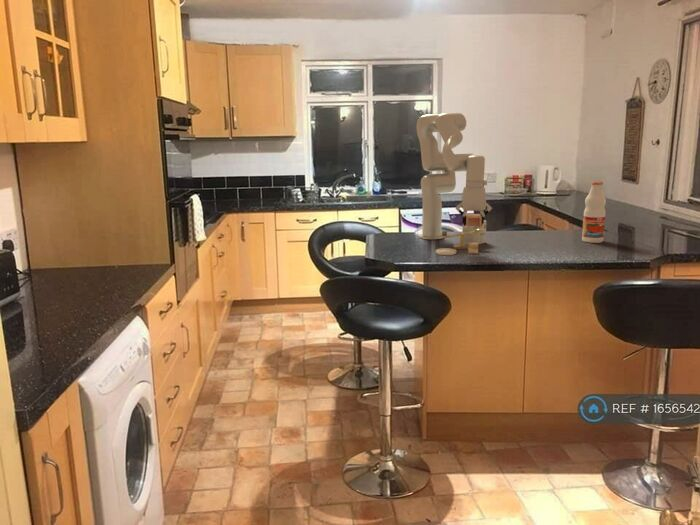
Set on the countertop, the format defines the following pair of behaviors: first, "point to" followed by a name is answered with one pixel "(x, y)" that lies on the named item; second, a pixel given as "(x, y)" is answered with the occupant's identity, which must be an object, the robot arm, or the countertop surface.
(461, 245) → the balance
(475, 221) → the reddish brown box
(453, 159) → the robot arm
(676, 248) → the countertop surface
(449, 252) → the dish
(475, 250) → the block
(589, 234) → the fruit juice
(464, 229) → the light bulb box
